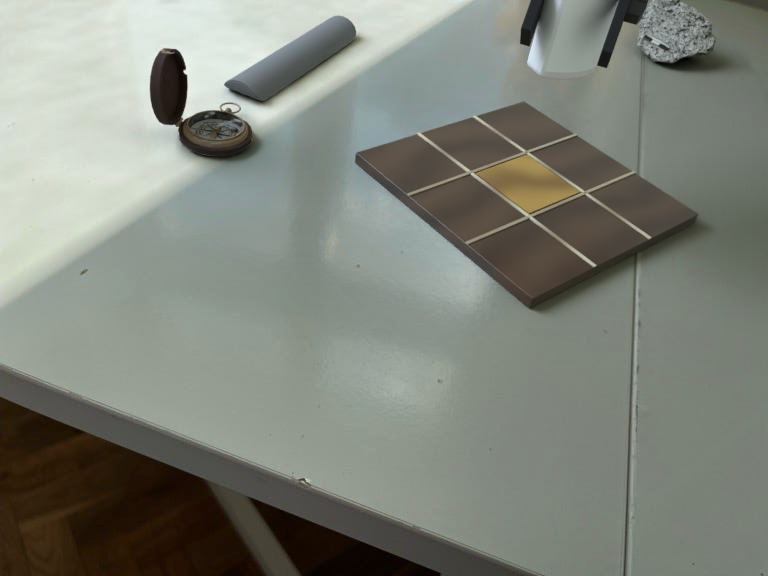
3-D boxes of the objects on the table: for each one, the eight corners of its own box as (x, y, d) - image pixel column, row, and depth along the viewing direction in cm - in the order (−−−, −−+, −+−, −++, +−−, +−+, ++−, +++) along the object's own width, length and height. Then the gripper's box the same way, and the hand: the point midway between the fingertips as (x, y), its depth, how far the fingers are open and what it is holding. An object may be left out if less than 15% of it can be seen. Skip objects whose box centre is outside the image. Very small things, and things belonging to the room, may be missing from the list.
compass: (242, 165, 65) (243, 85, 60) (148, 146, 65) (142, 65, 60) (267, 118, 71) (270, 42, 66) (182, 101, 71) (179, 24, 66)
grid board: (694, 223, 67) (699, 213, 67) (529, 308, 56) (533, 297, 55) (521, 110, 78) (524, 100, 78) (354, 162, 67) (355, 151, 67)
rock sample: (621, 21, 89) (679, -34, 89) (606, 41, 97) (658, -10, 96) (685, 86, 89) (743, 32, 88) (664, 101, 97) (717, 51, 96)
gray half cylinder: (358, 37, 86) (360, 22, 85) (258, 106, 72) (258, 88, 71) (325, 26, 87) (326, 10, 86) (220, 91, 73) (220, 73, 72)
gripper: (550, -317, 55) (440, -10, 54) (816, -264, 52) (705, 63, 51) (544, -235, 62) (447, 36, 61) (776, -185, 59) (678, 102, 58)
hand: (564, 47), depth 56 cm, fingers closed on eye dropper bottle, 5 cm apart
